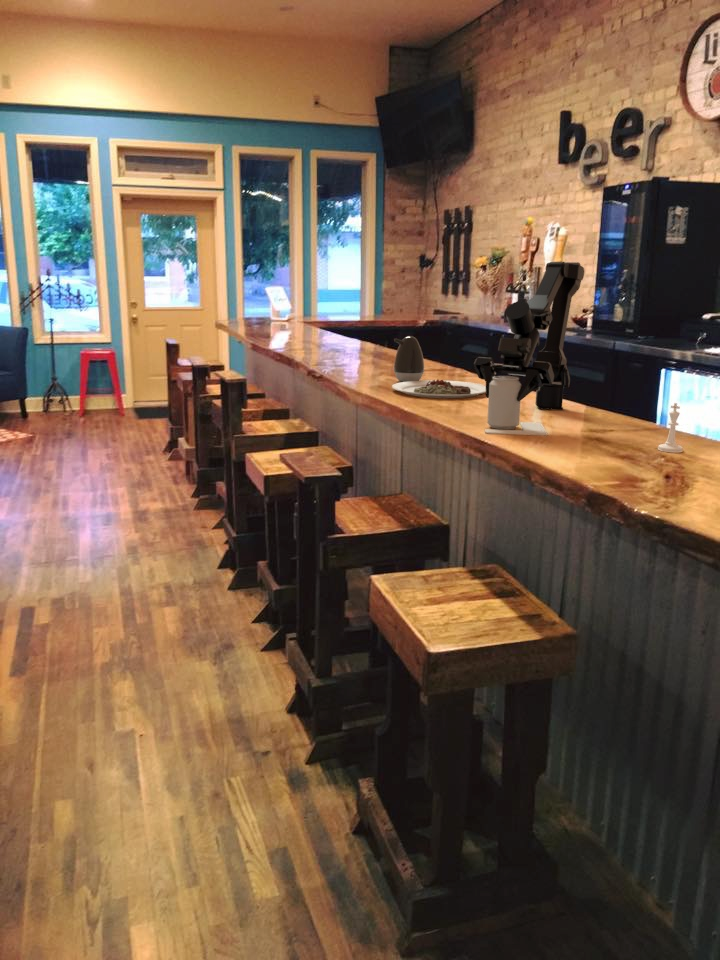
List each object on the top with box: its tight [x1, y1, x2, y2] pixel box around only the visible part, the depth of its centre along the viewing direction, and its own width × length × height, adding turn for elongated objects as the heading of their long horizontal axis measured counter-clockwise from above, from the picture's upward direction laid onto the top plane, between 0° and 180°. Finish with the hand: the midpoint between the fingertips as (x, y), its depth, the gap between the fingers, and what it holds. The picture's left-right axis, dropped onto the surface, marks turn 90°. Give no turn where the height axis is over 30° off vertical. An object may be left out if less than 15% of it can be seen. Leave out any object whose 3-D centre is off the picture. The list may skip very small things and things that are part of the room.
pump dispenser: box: [393, 335, 425, 382], centre depth 258 cm, size 10×10×15 cm
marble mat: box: [484, 421, 549, 436], centre depth 184 cm, size 14×14×1 cm
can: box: [486, 375, 522, 430], centre depth 184 cm, size 8×8×12 cm
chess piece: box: [657, 402, 684, 454], centre depth 162 cm, size 5×5×10 cm
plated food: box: [391, 378, 486, 399], centre depth 238 cm, size 30×30×3 cm
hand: (502, 398), depth 182 cm, fingers closed on can, 7 cm apart
